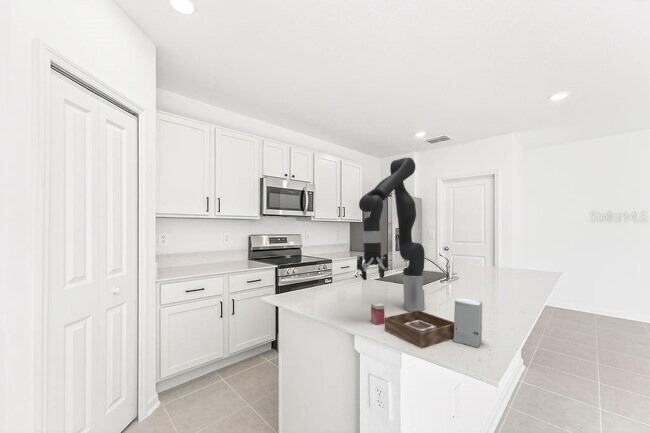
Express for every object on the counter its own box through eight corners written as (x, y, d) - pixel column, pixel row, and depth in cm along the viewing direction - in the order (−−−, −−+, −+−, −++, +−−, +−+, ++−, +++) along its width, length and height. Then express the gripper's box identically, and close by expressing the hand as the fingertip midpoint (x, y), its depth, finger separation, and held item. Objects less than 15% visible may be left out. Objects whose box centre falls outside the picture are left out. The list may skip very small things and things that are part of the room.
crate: (418, 321, 122) (418, 310, 123) (457, 336, 106) (457, 323, 106) (384, 330, 113) (384, 317, 113) (422, 348, 97) (421, 333, 97)
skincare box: (453, 341, 102) (452, 300, 102) (458, 336, 106) (457, 297, 107) (479, 348, 96) (478, 304, 96) (483, 342, 101) (482, 300, 101)
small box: (370, 321, 124) (370, 302, 124) (379, 319, 125) (379, 302, 126) (375, 324, 119) (375, 306, 119) (385, 323, 120) (384, 305, 121)
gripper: (381, 240, 129) (382, 275, 128) (353, 241, 123) (354, 278, 123) (390, 241, 122) (392, 278, 121) (361, 242, 116) (363, 282, 116)
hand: (373, 278), depth 122 cm, fingers open, 8 cm apart
